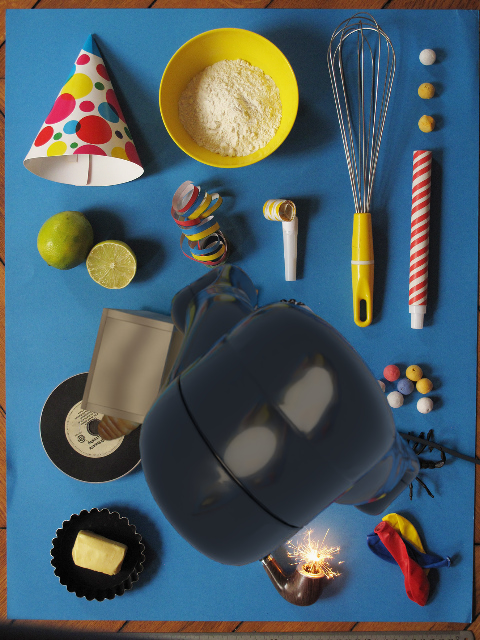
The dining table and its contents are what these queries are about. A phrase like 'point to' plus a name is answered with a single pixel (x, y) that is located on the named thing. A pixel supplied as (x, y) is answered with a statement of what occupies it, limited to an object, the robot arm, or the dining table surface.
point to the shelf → (130, 362)
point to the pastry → (115, 427)
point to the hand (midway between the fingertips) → (228, 308)
